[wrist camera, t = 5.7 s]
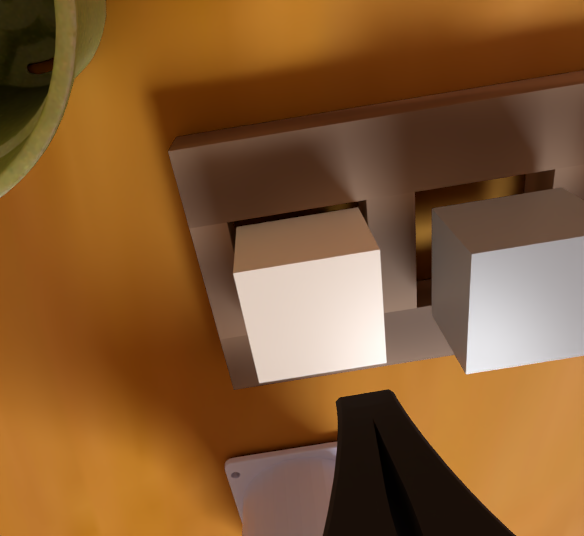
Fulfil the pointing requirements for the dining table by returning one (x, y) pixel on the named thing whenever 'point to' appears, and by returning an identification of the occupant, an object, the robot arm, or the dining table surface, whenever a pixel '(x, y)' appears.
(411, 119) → the brown flat board
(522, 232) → the slate key
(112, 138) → the dining table surface
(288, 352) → the ivory key
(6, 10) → the plant pot
